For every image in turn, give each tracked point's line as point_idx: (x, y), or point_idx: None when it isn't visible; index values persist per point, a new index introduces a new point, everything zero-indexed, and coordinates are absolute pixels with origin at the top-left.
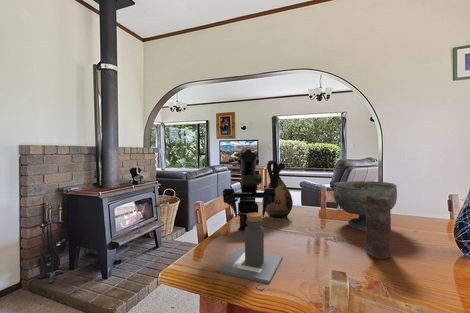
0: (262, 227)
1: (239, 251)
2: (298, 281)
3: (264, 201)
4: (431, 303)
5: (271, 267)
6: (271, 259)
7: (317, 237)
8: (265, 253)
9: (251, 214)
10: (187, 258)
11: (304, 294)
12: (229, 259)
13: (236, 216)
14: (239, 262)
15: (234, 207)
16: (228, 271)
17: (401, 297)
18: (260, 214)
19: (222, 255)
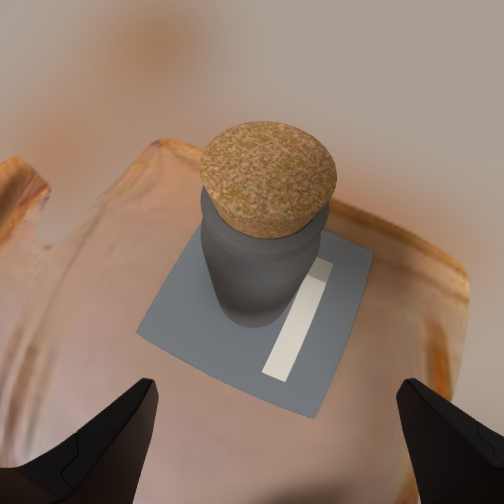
0: (204, 230)
1: (308, 387)
2: (148, 201)
3: (62, 481)
4: (19, 161)
5: (199, 252)
6: (183, 308)
7: (6, 452)
8: (196, 363)
9: (293, 161)
10: (457, 335)
11: (160, 161)
12: (344, 316)
13: (403, 385)
14: (308, 291)
15: (461, 417)
16: (338, 237)
17: (32, 167)
18: (212, 155)
19: (369, 369)
